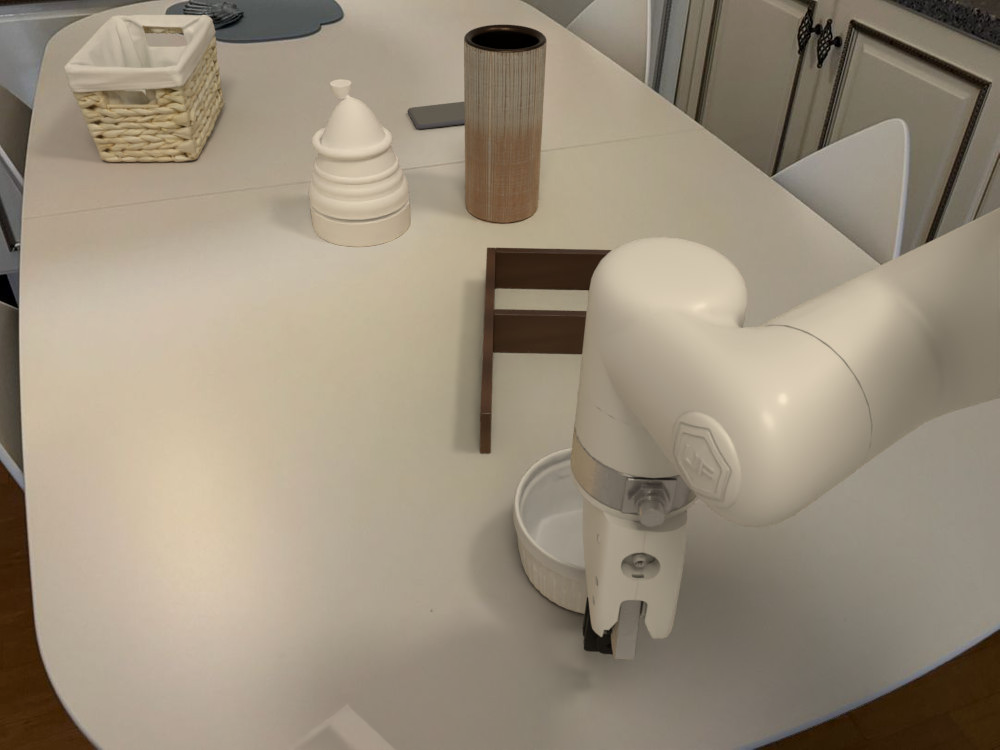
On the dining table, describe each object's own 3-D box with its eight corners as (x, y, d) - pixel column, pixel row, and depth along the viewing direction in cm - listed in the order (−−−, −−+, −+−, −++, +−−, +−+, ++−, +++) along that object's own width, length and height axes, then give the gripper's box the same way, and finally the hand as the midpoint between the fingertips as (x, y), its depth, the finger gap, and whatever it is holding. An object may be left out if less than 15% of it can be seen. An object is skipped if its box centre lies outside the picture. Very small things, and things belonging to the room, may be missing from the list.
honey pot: (294, 218, 114) (274, 84, 102) (374, 190, 120) (364, 61, 109) (347, 257, 106) (332, 118, 95) (430, 225, 113) (425, 91, 101)
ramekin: (702, 557, 71) (717, 500, 66) (609, 663, 63) (619, 606, 59) (575, 479, 77) (581, 422, 73) (477, 566, 70) (477, 508, 65)
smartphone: (406, 107, 141) (493, 97, 145) (407, 113, 142) (493, 103, 145) (416, 125, 136) (506, 114, 139) (417, 131, 136) (506, 120, 140)
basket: (201, 167, 125) (178, 66, 116) (87, 168, 124) (56, 66, 115) (232, 104, 143) (215, 13, 134) (134, 104, 143) (110, 12, 133)
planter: (551, 215, 116) (561, 43, 101) (484, 230, 112) (485, 55, 98) (517, 184, 123) (523, 20, 108) (453, 197, 119) (450, 29, 105)
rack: (682, 457, 80) (691, 417, 77) (479, 453, 80) (480, 413, 77) (644, 286, 102) (650, 250, 99) (486, 283, 102) (486, 247, 99)
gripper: (733, 562, 42) (676, 747, 53) (685, 370, 53) (646, 556, 65) (580, 559, 42) (556, 745, 53) (565, 367, 53) (547, 554, 65)
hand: (605, 641), depth 59 cm, fingers closed
